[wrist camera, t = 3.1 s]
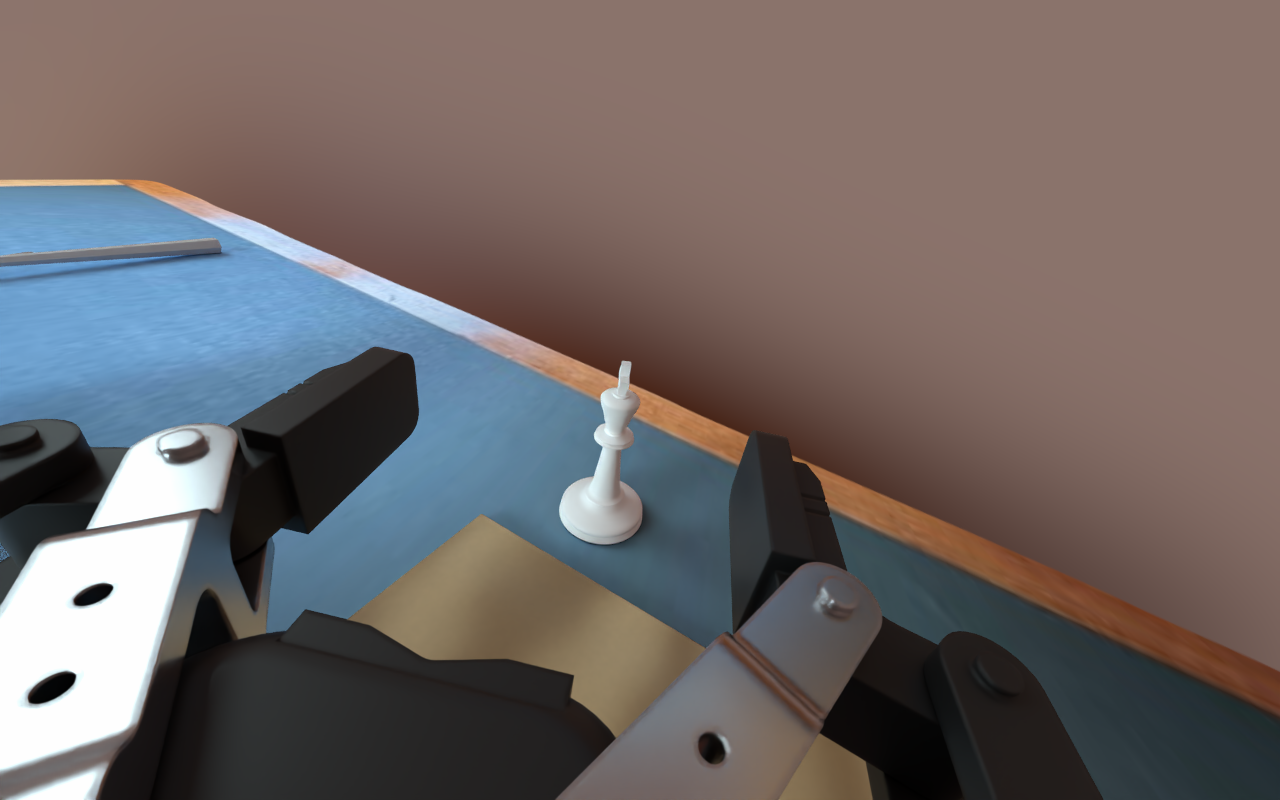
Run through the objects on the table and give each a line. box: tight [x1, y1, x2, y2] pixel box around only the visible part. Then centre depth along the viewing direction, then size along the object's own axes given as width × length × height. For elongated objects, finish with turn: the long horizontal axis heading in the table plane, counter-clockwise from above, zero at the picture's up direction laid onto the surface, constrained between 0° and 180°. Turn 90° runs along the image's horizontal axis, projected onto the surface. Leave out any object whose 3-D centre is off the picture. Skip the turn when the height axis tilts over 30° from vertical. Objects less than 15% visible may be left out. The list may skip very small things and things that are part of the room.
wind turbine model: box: [0, 238, 222, 267], centre depth 38 cm, size 16×2×30 cm
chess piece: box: [559, 361, 642, 544], centre depth 25 cm, size 5×5×10 cm
